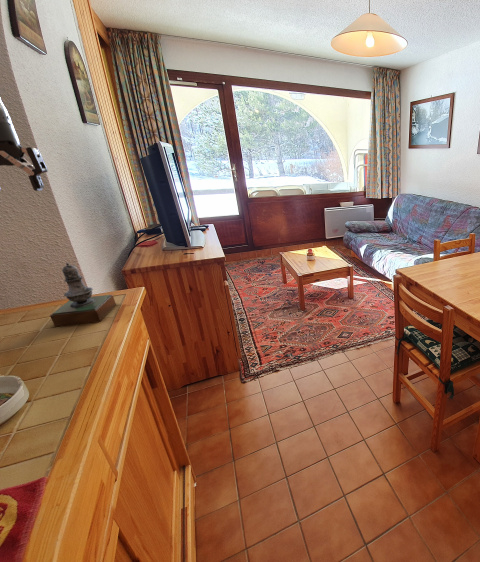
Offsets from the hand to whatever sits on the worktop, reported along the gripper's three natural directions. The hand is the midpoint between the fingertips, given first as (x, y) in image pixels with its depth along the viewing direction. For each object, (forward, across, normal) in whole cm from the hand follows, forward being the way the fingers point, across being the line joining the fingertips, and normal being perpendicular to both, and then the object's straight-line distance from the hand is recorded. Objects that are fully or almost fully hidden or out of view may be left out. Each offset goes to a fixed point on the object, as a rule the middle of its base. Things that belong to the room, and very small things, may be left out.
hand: (18, 190), depth 79 cm
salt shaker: (+30, +9, -9) cm, 32 cm away
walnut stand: (+33, +9, -9) cm, 35 cm away
